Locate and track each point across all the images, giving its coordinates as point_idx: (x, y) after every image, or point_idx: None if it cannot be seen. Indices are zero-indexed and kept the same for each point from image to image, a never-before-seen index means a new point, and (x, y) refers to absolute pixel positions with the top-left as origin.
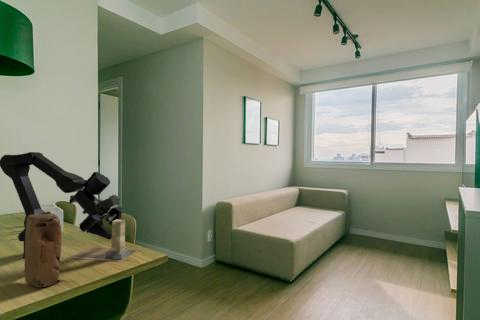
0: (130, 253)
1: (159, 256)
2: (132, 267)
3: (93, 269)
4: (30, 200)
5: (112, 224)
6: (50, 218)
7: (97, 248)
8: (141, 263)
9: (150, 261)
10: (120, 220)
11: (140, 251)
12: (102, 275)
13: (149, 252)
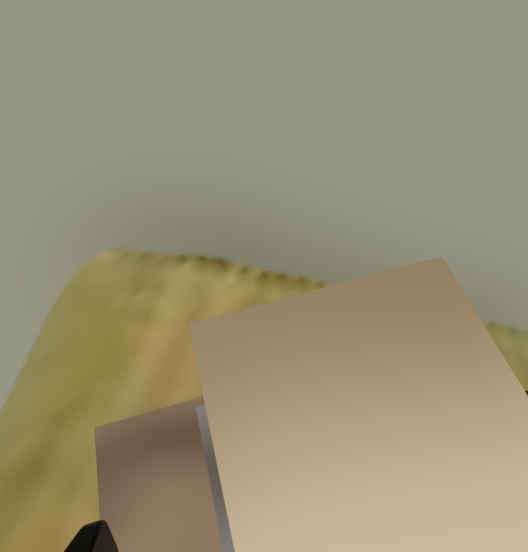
0: (193, 420)
1: (115, 262)
2: (327, 286)
3: None
4: None
5: None
6: None
7: None
8: (256, 282)
9: (208, 258)
10: (339, 381)
11: (45, 457)
12: (505, 352)
13: (54, 370)
